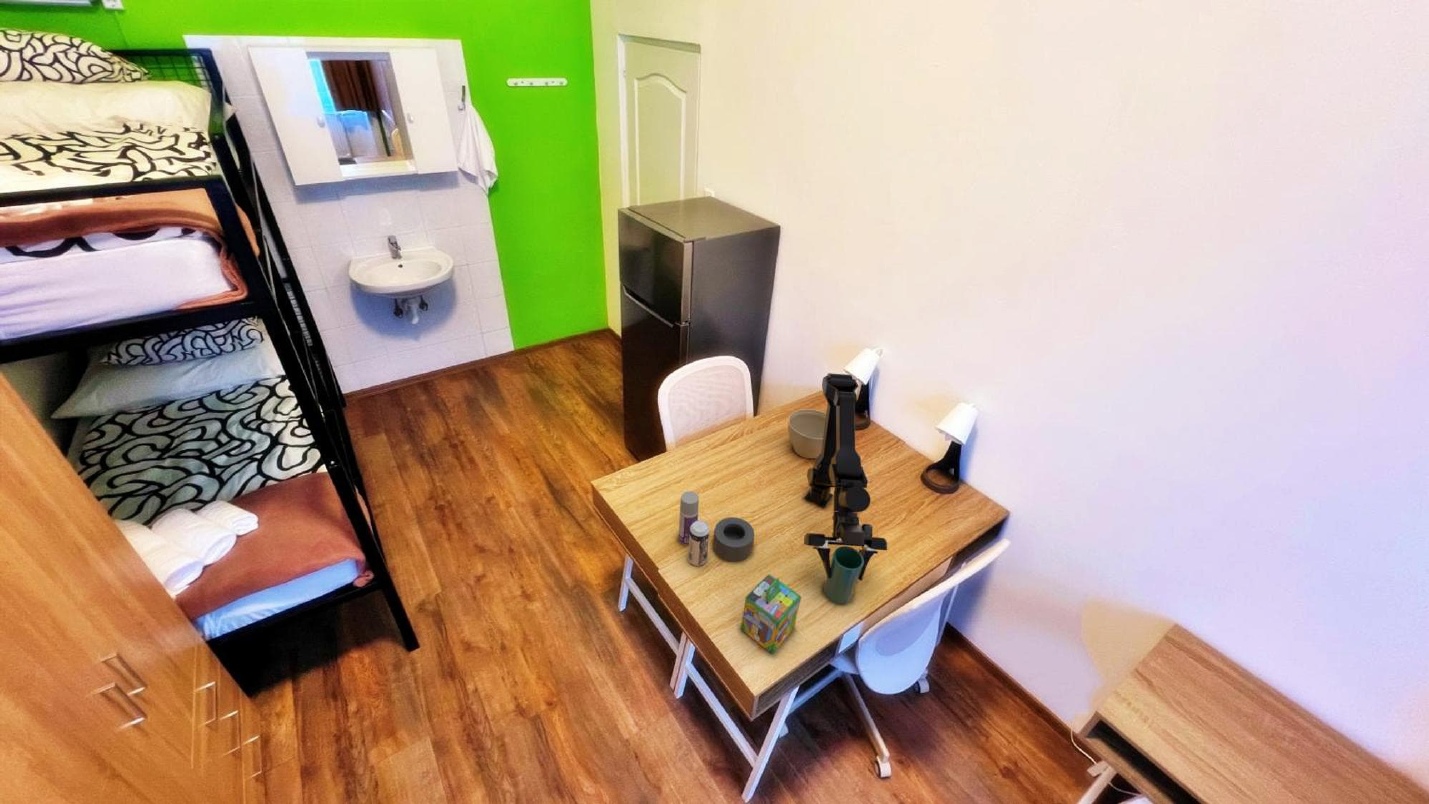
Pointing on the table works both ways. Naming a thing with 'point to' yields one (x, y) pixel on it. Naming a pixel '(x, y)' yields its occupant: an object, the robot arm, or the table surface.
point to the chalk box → (770, 612)
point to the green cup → (843, 575)
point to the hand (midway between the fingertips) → (844, 579)
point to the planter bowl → (807, 432)
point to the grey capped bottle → (698, 542)
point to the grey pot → (733, 539)
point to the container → (687, 515)
